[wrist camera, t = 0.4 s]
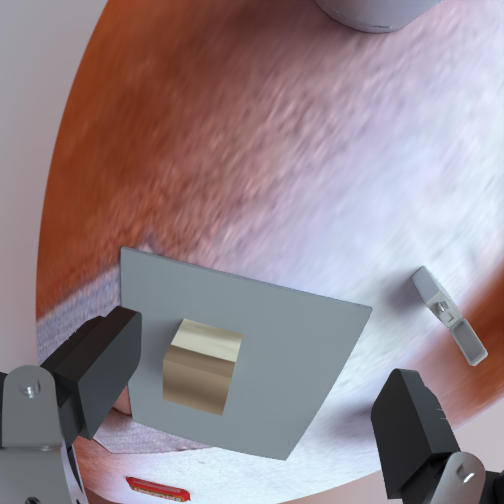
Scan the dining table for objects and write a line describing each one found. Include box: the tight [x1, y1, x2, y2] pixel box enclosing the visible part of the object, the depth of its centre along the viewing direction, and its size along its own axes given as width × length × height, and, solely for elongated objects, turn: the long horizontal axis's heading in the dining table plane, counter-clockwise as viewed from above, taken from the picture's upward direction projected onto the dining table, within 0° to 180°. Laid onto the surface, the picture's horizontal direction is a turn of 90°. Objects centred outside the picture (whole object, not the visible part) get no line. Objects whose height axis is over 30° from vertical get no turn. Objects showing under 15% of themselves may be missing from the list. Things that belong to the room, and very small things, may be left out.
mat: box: [121, 246, 372, 461], centre depth 35 cm, size 30×24×1 cm
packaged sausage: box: [126, 477, 191, 502], centre depth 54 cm, size 16×4×3 cm, turn 96°
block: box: [163, 319, 243, 416], centre depth 29 cm, size 6×6×6 cm
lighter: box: [411, 266, 488, 366], centre depth 23 cm, size 7×2×8 cm, turn 52°
